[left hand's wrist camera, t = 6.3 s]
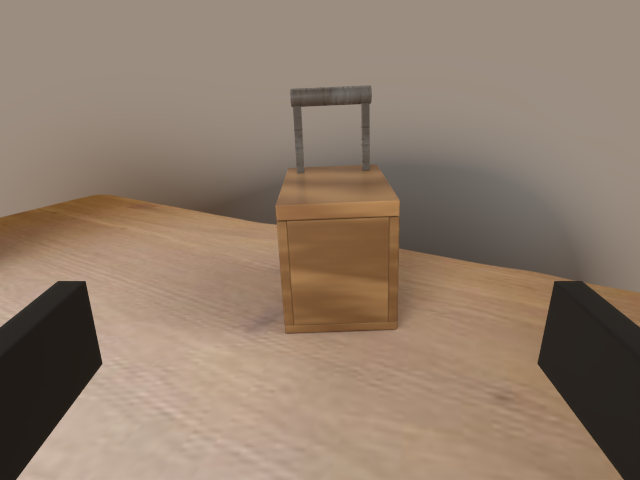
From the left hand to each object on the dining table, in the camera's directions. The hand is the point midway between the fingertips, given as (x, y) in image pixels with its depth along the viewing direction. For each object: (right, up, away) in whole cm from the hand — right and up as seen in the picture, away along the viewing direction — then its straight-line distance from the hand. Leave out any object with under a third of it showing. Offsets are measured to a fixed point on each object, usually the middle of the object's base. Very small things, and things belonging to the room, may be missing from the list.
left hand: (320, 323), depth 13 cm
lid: (+1, +6, +26) cm, 27 cm away
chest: (+2, -3, +29) cm, 29 cm away
